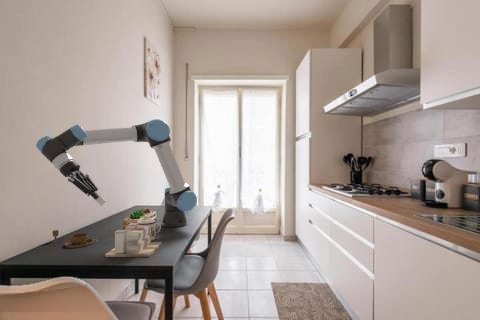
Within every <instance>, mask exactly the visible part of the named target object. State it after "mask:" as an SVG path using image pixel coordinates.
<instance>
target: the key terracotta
mask: <svg viewBox="0 0 480 320" xmlns="http://www.w3.org/2000/svg"><path fill="white" fill-rule="evenodd" d="M135 229H136V226H128V225H127V226H126V227H124V230H127V234H129V233H131V232H132V231H134V230H135Z"/></svg>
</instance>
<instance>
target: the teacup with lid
mask: <svg viewBox="0 0 480 320" xmlns="http://www.w3.org/2000/svg"><path fill="white" fill-rule="evenodd" d="M136 223H139V225H138V228H139V227H140V226H142V225H151V242H152V241H153V240H155V239H156V234H158V233H160V231H161V229H162V224H160V223H159V222H156V220H155V219H153V218H151V217H149V215H144V216H143V218H141V219H138V220H137V221H136ZM157 225H158V226H159V227H158V230H156V226H157Z"/></svg>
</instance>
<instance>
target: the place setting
mask: <svg viewBox="0 0 480 320" xmlns="http://www.w3.org/2000/svg"><path fill="white" fill-rule="evenodd" d="M59 232H60V231H59V230H52V237H54V241H53V242H54V243H57V240H58V239H57V237H58V236H59ZM86 242H87V243H86ZM94 242H99V241H98V239H97V238H89V234H88V233H76V234H72V235H70V240H68V241H65V242H64V245H63V246H64V247H66V248H68V249H77V248H78V249H79V248H84V247H87V246H88V247H89V246H91V245H92V244H94ZM70 244H72V245H70Z"/></svg>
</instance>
